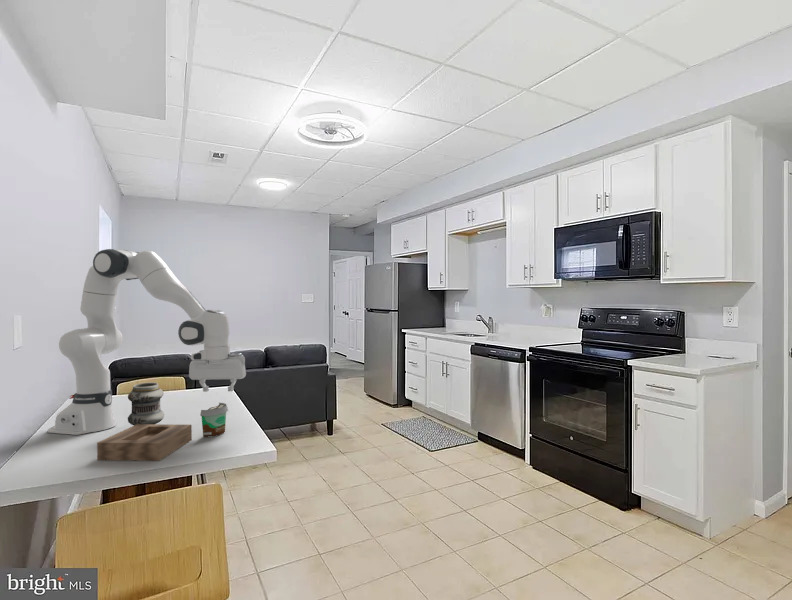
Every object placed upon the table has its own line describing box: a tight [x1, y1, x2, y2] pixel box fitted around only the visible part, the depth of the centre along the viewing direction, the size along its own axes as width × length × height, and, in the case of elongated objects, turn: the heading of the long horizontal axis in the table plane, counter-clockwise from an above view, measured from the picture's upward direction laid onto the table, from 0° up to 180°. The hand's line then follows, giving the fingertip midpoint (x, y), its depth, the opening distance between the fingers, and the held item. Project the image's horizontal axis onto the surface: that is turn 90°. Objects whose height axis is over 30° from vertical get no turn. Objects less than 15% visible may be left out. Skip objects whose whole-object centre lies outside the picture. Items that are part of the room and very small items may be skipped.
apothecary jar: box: [127, 381, 165, 426], centre depth 173 cm, size 12×12×18 cm
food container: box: [200, 402, 229, 438], centre depth 170 cm, size 12×6×10 cm, turn 168°
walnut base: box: [96, 423, 193, 462], centre depth 153 cm, size 20×20×6 cm
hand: (218, 391), depth 170 cm, fingers open, 8 cm apart
